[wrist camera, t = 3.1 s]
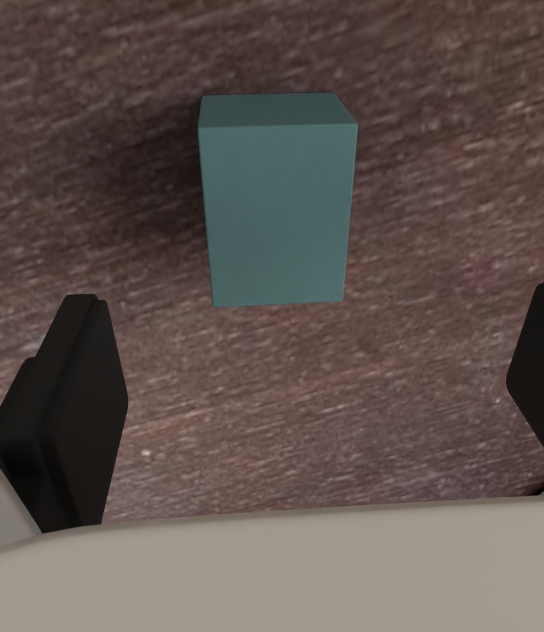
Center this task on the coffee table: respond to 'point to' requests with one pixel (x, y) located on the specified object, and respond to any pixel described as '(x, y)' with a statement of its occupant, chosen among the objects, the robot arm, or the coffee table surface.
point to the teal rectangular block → (276, 196)
